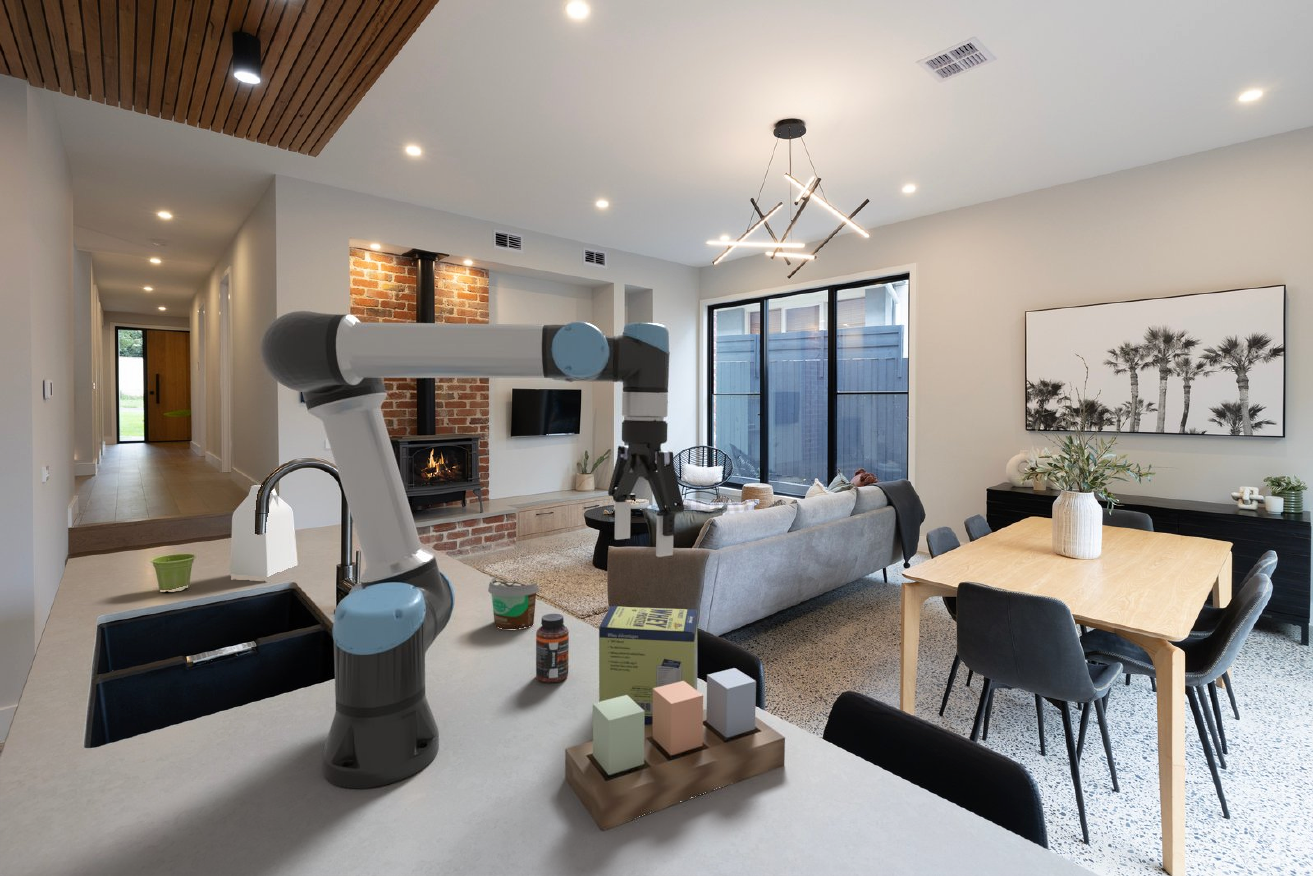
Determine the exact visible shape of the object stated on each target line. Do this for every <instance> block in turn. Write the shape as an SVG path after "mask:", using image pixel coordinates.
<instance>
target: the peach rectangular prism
mask: <svg viewBox="0 0 1313 876" xmlns="http://www.w3.org/2000/svg"><path fill="white" fill-rule="evenodd" d="M703 710H704V695H703V694H702V693H701V692H700V691H698V689H697V690H695V689H694V688H693V687H691V686H690V685H689V684H687V683H686V682H685V681H680V682H676V683H672V684H668V685H664V686H660V687H656V688H653V737H652V738H653V739H654V740H656V741H657V742H658V743H659V744H660V745H661V746H662V747H663V748H664V749H665V750H666V751H667V752H668V753H669V754H670V755H674V754H677V753H681V752H684V751H687V750H690V749H693V748H696V747H700V746H703Z"/></svg>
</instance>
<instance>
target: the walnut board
mask: <svg viewBox="0 0 1313 876" xmlns="http://www.w3.org/2000/svg"><path fill="white" fill-rule="evenodd" d="M706 716H707V708H703V746H700V747H696V748H693V749H690V750H687V751H684V752H681V753H677V754H674V755H670V754H669V753H668V752H667V751H666V750H665V749H664V748H663V747H662V746H661V745H660V744H659V743H658V742H657V741H656V740H654V739H653V738H652V737H653V724H651V725H644V764H643V765H639V766H636V767H633V768H630V769H627V770H624V771H620V772H617V773H614V774H611V775H608V774H607V772H606V771H605V770H604V769H603V767H602V766H601V765H600V764H599V762H598V761H597V760H596V759H595V757H594V756H593V740H592V741H587V742H583V743H581V744H576V745H573V746H570V747H566V748H564V750H565V751H564V754H565V755H564V756H565V758H564V769H565V770H564V778H565V779H566V780H567V782H568V784H569V785H570V787H571V789H572V790H573V791H574V793H575V794H576V795H577V797H578V799H579V800H580V801H581V802H582V804H583V806H584V807H585V809H586V810H587V812H588V813H589V814H590V815H592V816H591V818H592V819H593V820H594V822H595V823H596V825H597V824H598V825H599V826H598V825H597V826H598V828H599V827H600V828H599V829H600V830H602V831H601V832H604V831H606V830H605V829H607V830H608V829H611V828H615V827H618V826H620V825H623V824H625V823H628V822H627V821H629V820H631V819H634V820H636V819H635V818H637V817H639V816H642V815H644V814H645V816H647V815H646V814H648V813H650V812H653V811H656V810H659V811H661V809H662V810H664V809H663V808H665V809H667V808H669V807H668V806H670V807H672V806H671V805H673V804H676V803H678V802H680V801H684V800H687V799H689V798H691V797H695V796H698V795H700V794H703V793H705V792H709V791H711V792H713V791H712V790H714V789H716V788H719V787H723V786H725V787H727V786H726V785H728V784H731V783H734V784H736V783H739V782H742V781H744V780H743V779H745V780H747V779H750V778H753V777H755V776H758V775H760V774H761V775H762V774H764V773H767V772H769V771H771V770H774V769H777V768H780V767H783V766H785V762H786V761H785V760H786V759H785V757H786V756H785V752H786V751H785V750H786V747H785V746H786V737H785V736H784V735H783V734H781V733H780V732H779V731H777V730H776V729H774V728H773V727H771V726H770V725H768V724H767V723H766V722H764V721H762V720H761V719H760V718H758V717H757V716H755V729H753V730H750V731H747V732H744V733H741V734H737V735H734V736H731V737H728V738H726V737H725V736H724V735H722V734H721V733H720V732H719V731H717V730H716V729H715V728H714V727H712V726H711V725H710V724H709V723H707V722H706ZM733 738H735V739H734V740H731V739H733ZM727 740H730V741H728V742H725V741H727ZM680 754H681V755H683V754H684V755H685V756H681V755H680ZM676 755H677V756H680V757H678V758H675V759H671V758H674V757H677V756H676ZM673 756H674V757H673ZM668 759H671V760H668ZM627 772H629V773H627ZM623 773H627V774H625V775H621V776H618V777H615V778H612V779H609V780H607V781H606V780H605V779H608V778H611V777H613V776H617V775H620V774H623ZM741 780H742V781H741ZM738 781H739V782H738ZM731 785H732V784H731ZM728 786H729V785H728ZM723 788H724V787H723ZM714 791H715V790H714ZM709 793H710V792H709ZM703 795H704V794H703ZM700 796H701V795H700ZM698 797H699V796H698ZM695 798H696V797H695ZM689 800H690V799H689ZM687 801H688V800H687ZM684 802H685V801H684ZM678 804H679V803H678ZM676 805H677V804H676ZM673 806H674V805H673ZM666 807H667V808H666ZM656 812H657V811H656ZM648 815H649V814H648ZM642 817H643V816H642ZM637 819H638V818H637ZM631 821H632V820H631ZM629 822H630V821H629ZM617 825H618V826H617ZM603 830H604V831H603Z"/></svg>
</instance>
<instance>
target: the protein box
mask: <svg viewBox="0 0 1313 876" xmlns="http://www.w3.org/2000/svg"><path fill="white" fill-rule="evenodd" d="M680 681H685V682H686V683H687V684H689V685H690V686H691V687H693V688H694V689H695V690H697V691H698V610H697V609H693V608H692V609H691V608H690V609H686V608H664V607H663V608H661V607H660V608H657V607H633V606H632V607H631V606H617V605H616V606H615V605H614V606H610V607H609V608H608V610H607V612H606V613H605V616H604V617H603V619H602V621H601V622H600V625H599V627H598V700H599V701H598V702H601V701H605V700H609V699H613V698H617V697H620V696H624V695H628V696H629V697H630V698H631V699H632V700H633V701H634V702H635V703H636V704H637V705H638V706H640V707H641V708H642V709H643V710H644V711H645V713H644V726H647V725H651V724H653V688H656V687H660V686H664V685H668V684H672V683H676V682H680Z"/></svg>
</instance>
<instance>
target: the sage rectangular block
mask: <svg viewBox="0 0 1313 876" xmlns="http://www.w3.org/2000/svg"><path fill="white" fill-rule="evenodd" d="M644 713H645V711H644V710H643V709H642V708H641V707H640V706H638V705H637V704H636V703H635V702H634V701H633V700H632V699H631V698H630V697H629V696H628V695H624V696H620V697H617V698H613V699H609V700H605V701H601V702H599V701H597V702H593V703H592V741H593V756H594V757H595V759H596V760H597V761H598V762H599V764H600V765H601V766H602V767H603V769H604V770H605V771H606V772H607V774H608V775H611V774H614V773H617V772H620V771H624V770H627V769H630V768H633V767H636V766H639V765H643V764H644V726H645V725H644Z"/></svg>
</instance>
